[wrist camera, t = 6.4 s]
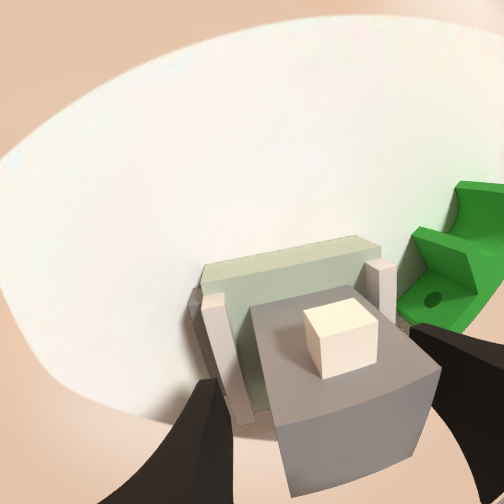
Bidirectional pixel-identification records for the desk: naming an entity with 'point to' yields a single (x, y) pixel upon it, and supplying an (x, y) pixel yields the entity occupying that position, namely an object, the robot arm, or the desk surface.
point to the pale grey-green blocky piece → (273, 289)
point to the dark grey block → (341, 387)
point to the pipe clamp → (459, 261)
